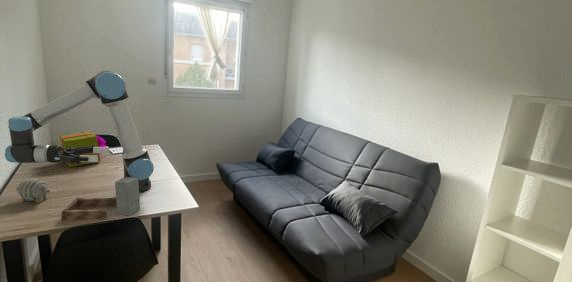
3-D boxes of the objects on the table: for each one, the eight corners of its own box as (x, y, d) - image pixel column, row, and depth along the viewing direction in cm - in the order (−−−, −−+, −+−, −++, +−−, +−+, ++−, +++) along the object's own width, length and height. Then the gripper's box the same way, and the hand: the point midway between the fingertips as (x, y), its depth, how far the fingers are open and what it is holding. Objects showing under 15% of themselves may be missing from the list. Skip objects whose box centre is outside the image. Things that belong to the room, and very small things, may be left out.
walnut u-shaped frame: (62, 220, 139) (61, 211, 138) (77, 206, 153) (76, 198, 152) (106, 219, 142) (105, 210, 141) (116, 205, 156) (116, 197, 155)
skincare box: (129, 216, 146) (127, 183, 142) (115, 214, 147) (113, 181, 144) (141, 208, 154) (139, 177, 150) (128, 206, 155) (126, 175, 152)
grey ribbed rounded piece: (27, 195, 161) (25, 174, 158) (60, 198, 160) (58, 176, 157) (8, 203, 150) (5, 181, 148) (43, 206, 150) (40, 184, 147)
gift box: (69, 173, 203) (112, 164, 220) (64, 143, 195) (109, 136, 211) (62, 159, 216) (103, 151, 233) (57, 131, 208) (100, 125, 224)
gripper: (64, 154, 151) (113, 154, 155) (34, 171, 127) (92, 171, 131) (63, 138, 149) (112, 139, 153) (31, 153, 126) (91, 153, 129)
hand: (103, 154), depth 142 cm, fingers open, 13 cm apart
